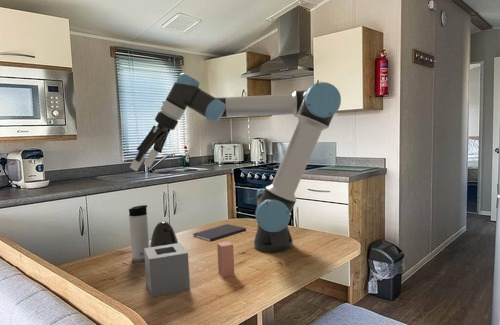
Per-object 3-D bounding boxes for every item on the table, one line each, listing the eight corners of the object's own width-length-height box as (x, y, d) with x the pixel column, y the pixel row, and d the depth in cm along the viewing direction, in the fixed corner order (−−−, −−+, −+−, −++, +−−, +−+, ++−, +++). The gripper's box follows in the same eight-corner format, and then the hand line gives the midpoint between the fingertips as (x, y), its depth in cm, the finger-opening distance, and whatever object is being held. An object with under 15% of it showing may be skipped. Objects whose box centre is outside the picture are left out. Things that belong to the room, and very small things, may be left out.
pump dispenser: (154, 271, 125) (151, 227, 124) (147, 262, 134) (145, 220, 133) (184, 265, 130) (181, 222, 129) (175, 257, 139) (173, 216, 138)
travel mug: (145, 262, 135) (142, 207, 133) (128, 261, 136) (125, 207, 134) (153, 256, 141) (150, 203, 139) (137, 255, 142) (133, 203, 141)
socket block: (181, 276, 120) (179, 242, 119) (189, 289, 110) (187, 252, 109) (146, 283, 116) (144, 248, 115) (151, 297, 106) (149, 259, 105)
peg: (230, 270, 124) (228, 241, 123) (234, 275, 120) (233, 244, 119) (218, 273, 122) (217, 243, 121) (222, 277, 118) (221, 246, 117)
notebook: (210, 242, 158) (246, 231, 173) (210, 238, 157) (245, 227, 173) (191, 237, 166) (227, 227, 182) (191, 233, 166) (227, 223, 181)
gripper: (169, 111, 144) (143, 159, 146) (148, 107, 119) (116, 164, 121) (186, 121, 144) (160, 169, 146) (168, 119, 119) (136, 176, 121)
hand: (140, 167), depth 134 cm, fingers open, 13 cm apart
